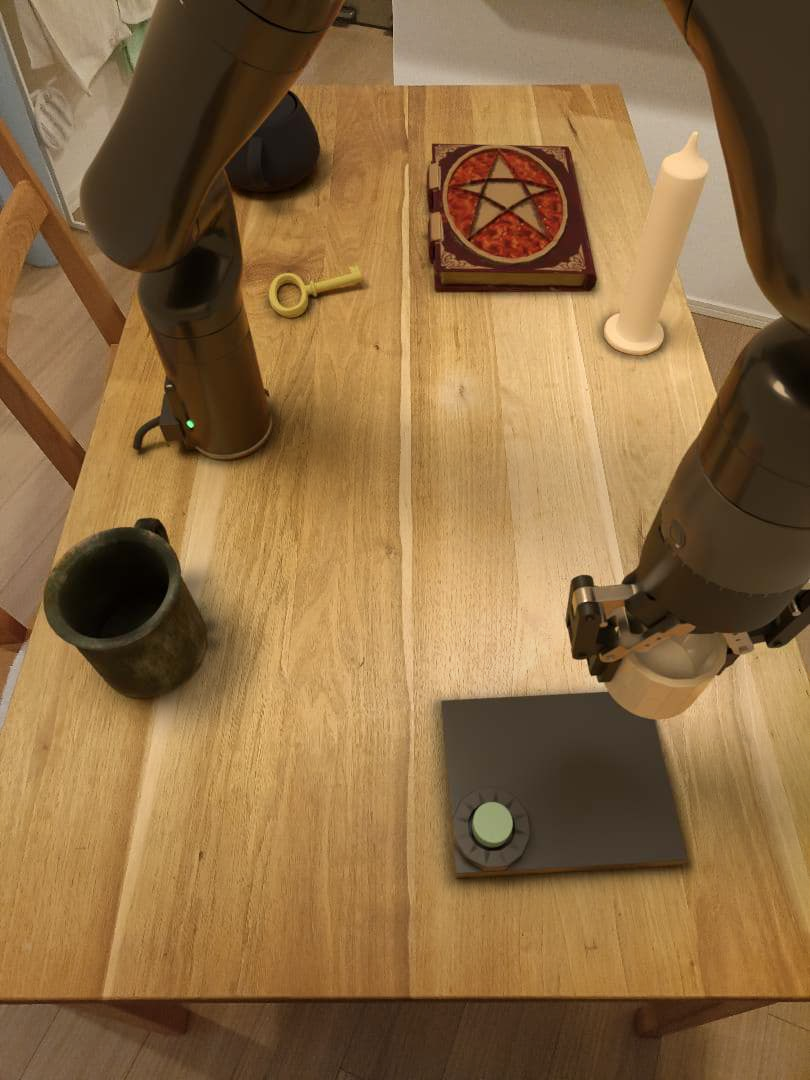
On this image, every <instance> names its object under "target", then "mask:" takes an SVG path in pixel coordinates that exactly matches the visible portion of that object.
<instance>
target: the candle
mask: <svg viewBox="0 0 810 1080" xmlns="http://www.w3.org/2000/svg"><path fill="white" fill-rule="evenodd" d="M698 143H699V132H698V131H694V132H692V133H691V135H690V137H689V139H688V141H687V143H686V144H685V146H684V147H683V149H681V150H680V151H676V152H674V153H672V154H669V155H667V156H666V157H665V158H664V159H663V160H662V163H661V164H660V165H661V166H660V170H659V173H658V176H657V180H656V183H655V186H654V190H653V194H652V198H651V200H650V204H649V208H648V212H647V214H646V219H645V222H644V225H643V229H642V232H641V236H640V238H639V239H640V240H639V243H638V247H637V250H636V254H635V257H634V261H633V264H632V267H631V268H632V269H631V271H630V275H629V278H628V282H627V285H626V289H625V292H624V297H623V299H622V304H621V307H620V311H619V312H617V313H615V314H612V315H611V316H610V317H608V318H607V320H606V322H605V324H604V328H603V336H604V338H605V340H606V342H607V343H608V344H609V345H610V346H611V347H612V348H613V349H615V350H616V351H619V352H620V353H623V354H627V355H632V356H642V355H648V354H650V353H653V352H655V351H656V350H658V349H659V348H660V346H661V345H662V344H663V341H664V336H665V333H664V329H663V326H662V325H661V323H660V322H659V319H660V315H661V313H662V311H663V310H662V309H663V307H664V302H665V301H666V298H667V296H668V292H669V289H670V286H671V283H672V281H673V277H674V274H675V271H676V268H677V266H678V262H679V259H680V257H681V253H682V251H683V248H684V245H685V243H686V240H687V236H688V233H689V230H690V228H691V225H692V221H693V218H694V215H695V213H696V210H697V206H698V203H699V200H700V198H701V196H702V192H703V189H704V186H705V183H706V180H707V177H708V174H709V170H710V167H709V164H708V163H707V161H706V159H704V158H703V157H702V156H701V155H700V154H699V150H698V145H699V144H698Z"/></svg>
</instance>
